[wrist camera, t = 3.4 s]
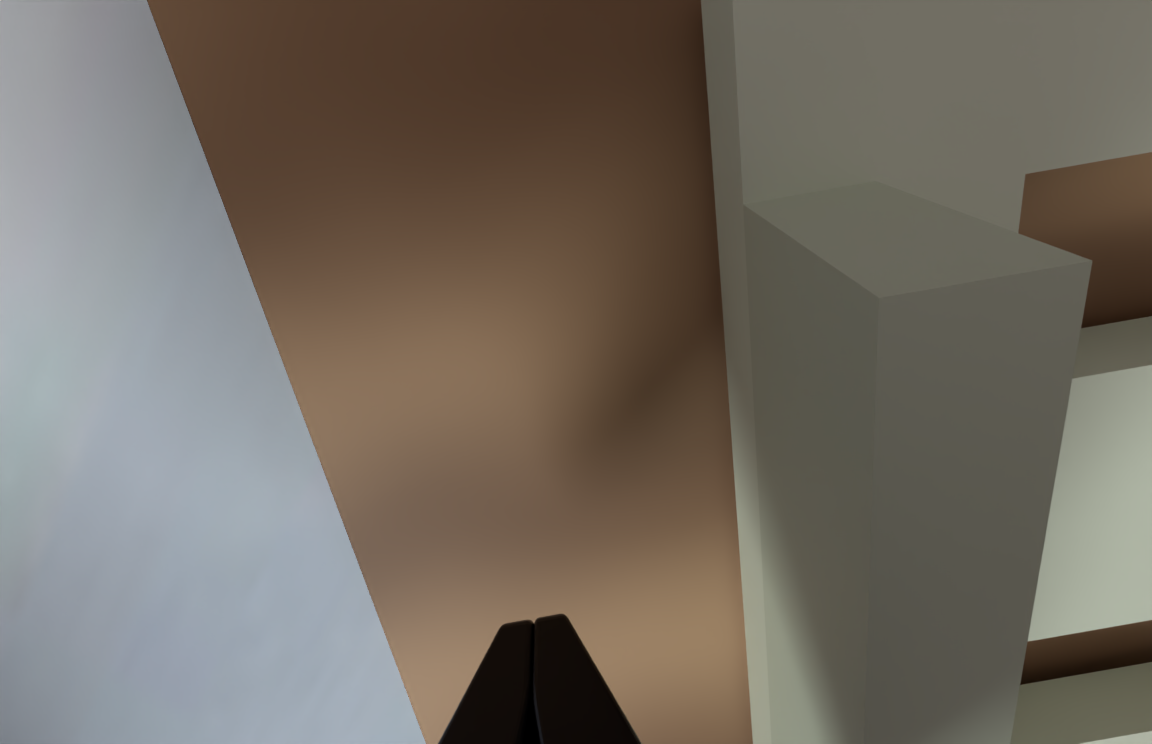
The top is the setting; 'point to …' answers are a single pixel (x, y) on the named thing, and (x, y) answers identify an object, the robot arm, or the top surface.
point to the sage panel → (927, 366)
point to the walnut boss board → (535, 321)
